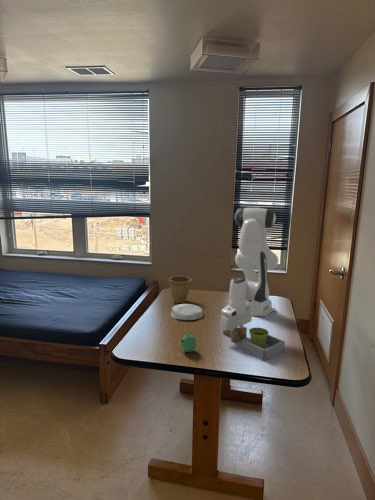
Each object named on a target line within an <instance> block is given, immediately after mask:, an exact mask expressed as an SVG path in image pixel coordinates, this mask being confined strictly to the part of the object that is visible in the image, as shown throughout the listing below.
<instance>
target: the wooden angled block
mask: <svg viewBox="0 0 375 500" xmlns="http://www.w3.org/2000/svg"><path fill="white" fill-rule="evenodd" d="M247 329H248V327H245V326H243V328H239V326H238V327H235V328H234V331H232V332H231V331H230V330H227V331H225V330H223V329H222V330H223V331H222V333H223V335H224V336H227V337H230V341H231V342H233V343H234V342H237V341H239V340H243V339H245V338H247V332H248V331H247Z"/></svg>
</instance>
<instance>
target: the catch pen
mask: <svg viewBox="0 0 375 500" xmlns="http://www.w3.org/2000/svg"><path fill="white" fill-rule="evenodd" d="M241 340H242V342H241V343H242V345H241V350H242V351H243V352H245V353H248V354H250V355H251V356H254V357H255V358H257V359H259V360H261V361H264V362H265V361H267V360H269V359H271V358H274V357H276V356H277V355H280V354H281V353H283V352H285V343H286V341H285V340H282V339H280V338H277V337H275V336H272V335H270V334H268V335H267V338H266V342H265V346H266V345H267V346H269V347H267V348H264V349H263V348H261V347H259V346H256V345H254V344H252V343H251V341H249V340H246V339H241Z"/></svg>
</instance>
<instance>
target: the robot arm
mask: <svg viewBox="0 0 375 500" xmlns="http://www.w3.org/2000/svg"><path fill="white" fill-rule="evenodd" d="M276 220H277V217H276V211H274V210H273V209H271V208H263V207H238V208H237V210H236V211H235V213H234V221H235V224H236V226H238V227H239V228H240V234H239V241H238V248H239V249H238V250H239V251H238V252H237V253H236V254H235V257H234V262H235V265H236V266H237V267H238V268H239V269H240V270H242V272H243V274H244V277H243V276H235V277H232V278H231V279H230V284H229V292H228V293H229V294H228V295H229V300H228V304H227V305H226V306H225V307H224V308H222V309H221V311H220V312H221V316H220V328H221V330H225V331H227V330H230V331H231V332H232V331H234V328H235V327H238V328H243V327H244V326H245V325H246V324H249V323H251V322H252V318H253V317H264V316H265V317H267V316H269V315H270V314H272V313H273V312H272V311H274V310H275V311H276V308H275V307H274V306H273V305H272V301H271V300H270V299H269V297H270V286H269V280H268V271H269V270H275V268H277V267H278V264H279V259H278V255H277V254H276V253H275V252H273V251H272V250H271V249H270V248H269V245H268V240H267V239H268V235H267V233H268V229H271V228H273V227H274V225H275V223H276ZM255 270H257V271H255ZM272 307H273V308H272ZM275 311H274V312H275ZM271 312H272V313H271ZM269 313H270V314H269ZM268 314H269V315H268Z"/></svg>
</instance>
